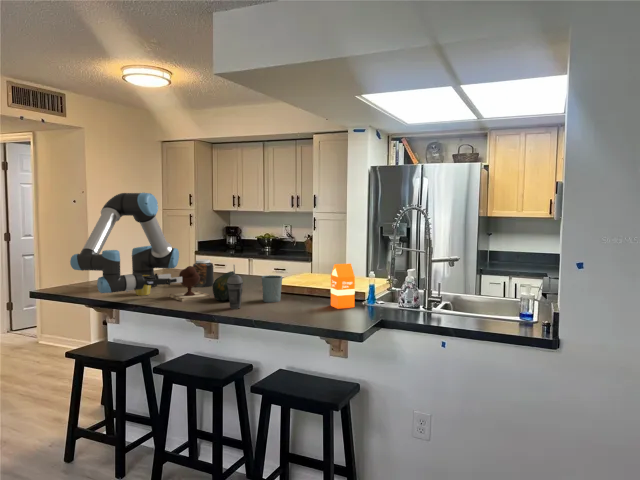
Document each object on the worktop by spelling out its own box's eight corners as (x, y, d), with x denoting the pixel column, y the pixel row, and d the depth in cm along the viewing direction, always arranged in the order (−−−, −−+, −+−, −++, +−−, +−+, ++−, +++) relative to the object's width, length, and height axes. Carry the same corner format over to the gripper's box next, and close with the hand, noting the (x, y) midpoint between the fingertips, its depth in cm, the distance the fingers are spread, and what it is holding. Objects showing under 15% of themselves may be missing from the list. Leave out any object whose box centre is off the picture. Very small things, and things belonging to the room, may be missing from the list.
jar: (210, 287, 279) (210, 261, 278) (190, 287, 279) (190, 261, 278) (215, 283, 290) (215, 259, 289) (196, 283, 291) (195, 258, 290)
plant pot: (127, 295, 252) (127, 277, 252) (142, 292, 262) (141, 274, 261) (143, 297, 248) (143, 278, 248) (157, 293, 258) (157, 275, 257)
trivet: (169, 296, 249) (169, 294, 249) (197, 293, 259) (196, 290, 258) (182, 301, 237) (181, 298, 237) (210, 297, 247) (209, 294, 247)
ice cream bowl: (203, 293, 253) (202, 264, 252) (195, 297, 242) (195, 267, 241) (183, 292, 254) (183, 264, 253) (175, 296, 243) (174, 267, 242)
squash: (201, 289, 239) (218, 268, 235) (220, 286, 253) (236, 266, 248) (219, 310, 235) (236, 289, 230) (237, 306, 249) (253, 285, 244)
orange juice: (330, 305, 229) (330, 263, 227) (347, 304, 232) (347, 262, 231) (337, 308, 222) (337, 265, 220) (354, 307, 225) (355, 264, 224)
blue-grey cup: (257, 300, 240) (257, 276, 239) (273, 297, 247) (272, 274, 246) (271, 303, 233) (271, 278, 232) (286, 300, 240) (286, 276, 239)
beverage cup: (229, 310, 217) (229, 266, 216) (225, 307, 224) (224, 264, 222) (245, 308, 221) (245, 265, 219) (240, 305, 227) (240, 263, 226)
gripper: (124, 286, 239) (166, 282, 252) (143, 293, 220) (187, 288, 233) (124, 271, 238) (166, 268, 252) (142, 277, 219) (186, 273, 233)
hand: (176, 277), depth 243 cm, fingers open, 13 cm apart
